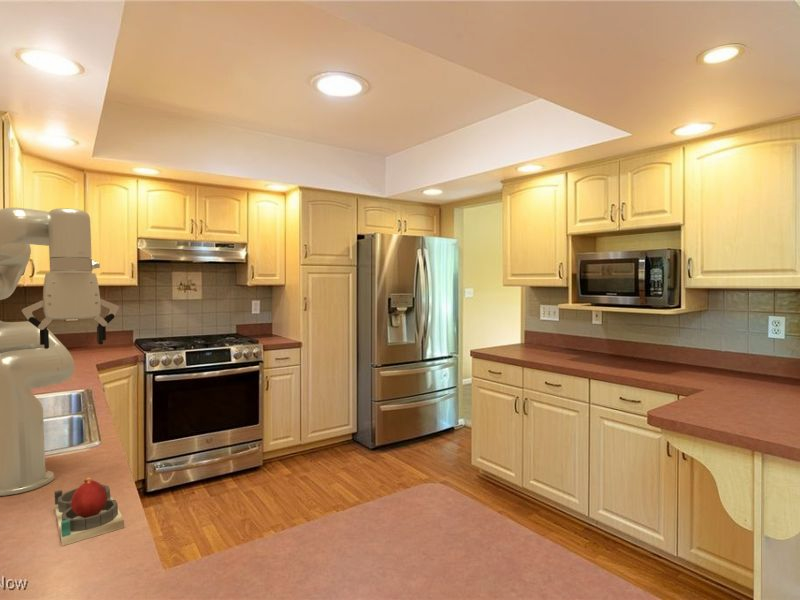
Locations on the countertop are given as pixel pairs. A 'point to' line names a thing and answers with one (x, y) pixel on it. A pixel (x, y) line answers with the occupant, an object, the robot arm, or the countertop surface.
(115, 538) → the countertop surface
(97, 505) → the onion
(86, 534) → the cream flat ringed piece
